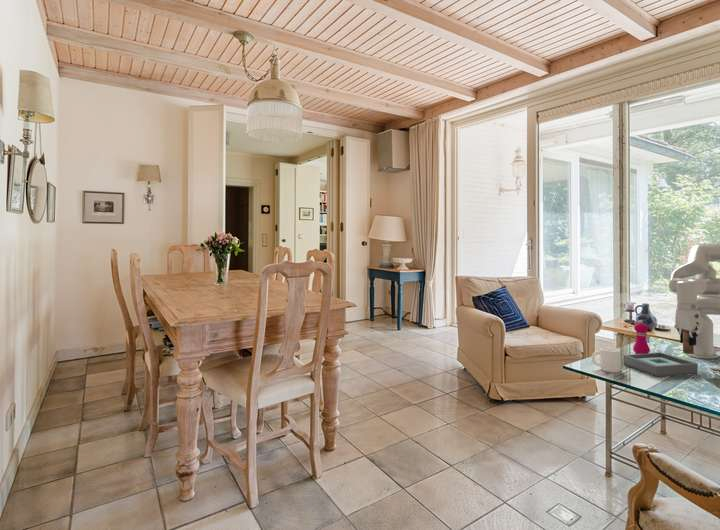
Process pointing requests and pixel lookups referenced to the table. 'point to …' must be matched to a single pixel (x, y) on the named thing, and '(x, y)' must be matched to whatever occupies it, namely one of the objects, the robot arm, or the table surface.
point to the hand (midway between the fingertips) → (688, 343)
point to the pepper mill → (641, 338)
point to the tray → (662, 368)
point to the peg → (687, 343)
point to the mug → (608, 359)
